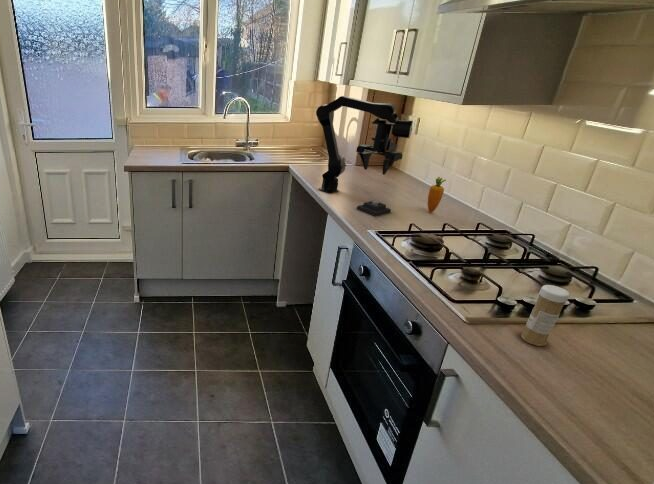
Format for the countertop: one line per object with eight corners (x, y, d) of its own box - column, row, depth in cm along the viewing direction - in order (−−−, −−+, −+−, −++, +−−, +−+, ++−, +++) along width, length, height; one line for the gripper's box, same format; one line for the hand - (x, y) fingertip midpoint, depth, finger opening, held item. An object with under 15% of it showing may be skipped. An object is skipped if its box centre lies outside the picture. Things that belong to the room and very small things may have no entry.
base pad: (356, 209, 171) (358, 200, 170) (371, 205, 175) (373, 196, 173) (375, 216, 164) (377, 206, 162) (390, 212, 168) (392, 203, 166)
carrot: (425, 209, 171) (435, 174, 165) (438, 212, 168) (449, 177, 162) (421, 212, 168) (431, 176, 162) (435, 215, 165) (445, 179, 158)
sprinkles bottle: (521, 331, 96) (543, 281, 91) (546, 340, 94) (570, 289, 88) (519, 340, 93) (541, 289, 88) (545, 350, 90) (569, 297, 85)
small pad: (363, 206, 170) (363, 202, 169) (372, 204, 173) (373, 200, 172) (375, 210, 165) (376, 207, 165) (385, 208, 168) (386, 204, 167)
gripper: (415, 137, 169) (406, 175, 175) (376, 130, 184) (369, 165, 190) (397, 140, 164) (388, 178, 170) (358, 132, 179) (352, 167, 185)
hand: (374, 172), depth 179 cm, fingers open, 9 cm apart
